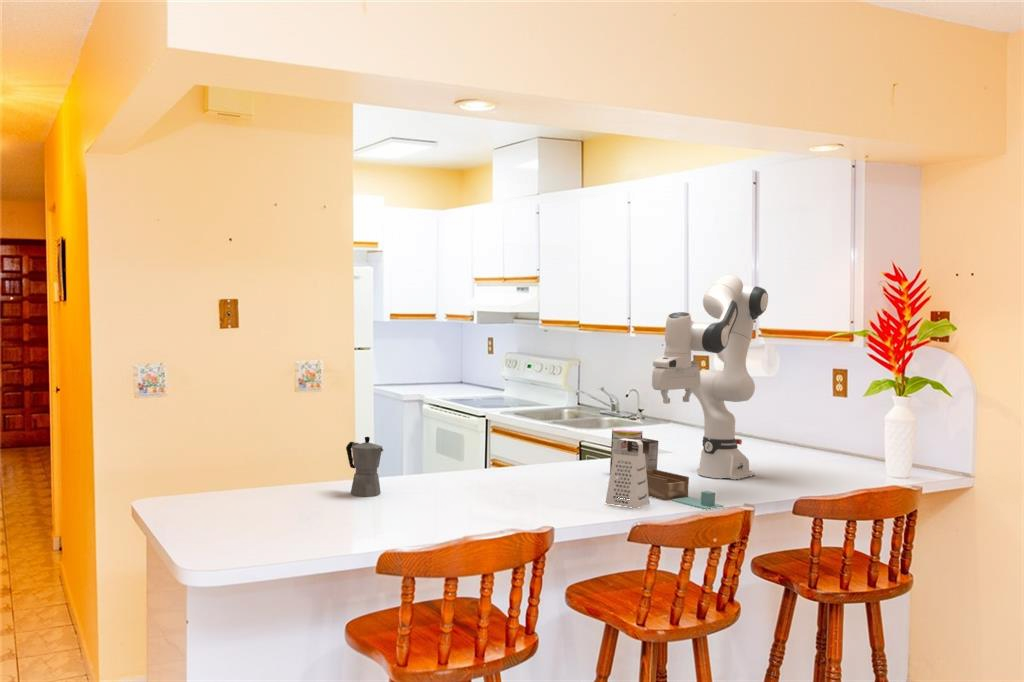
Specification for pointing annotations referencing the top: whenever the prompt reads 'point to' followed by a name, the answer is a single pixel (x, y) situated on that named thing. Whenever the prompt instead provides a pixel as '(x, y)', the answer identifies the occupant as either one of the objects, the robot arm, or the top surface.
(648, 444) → the coffee box
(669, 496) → the walnut box
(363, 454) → the coffeepot
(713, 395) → the robot arm
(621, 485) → the grater
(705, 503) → the cover plate
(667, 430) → the top surface
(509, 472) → the top surface
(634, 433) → the candy bar box
